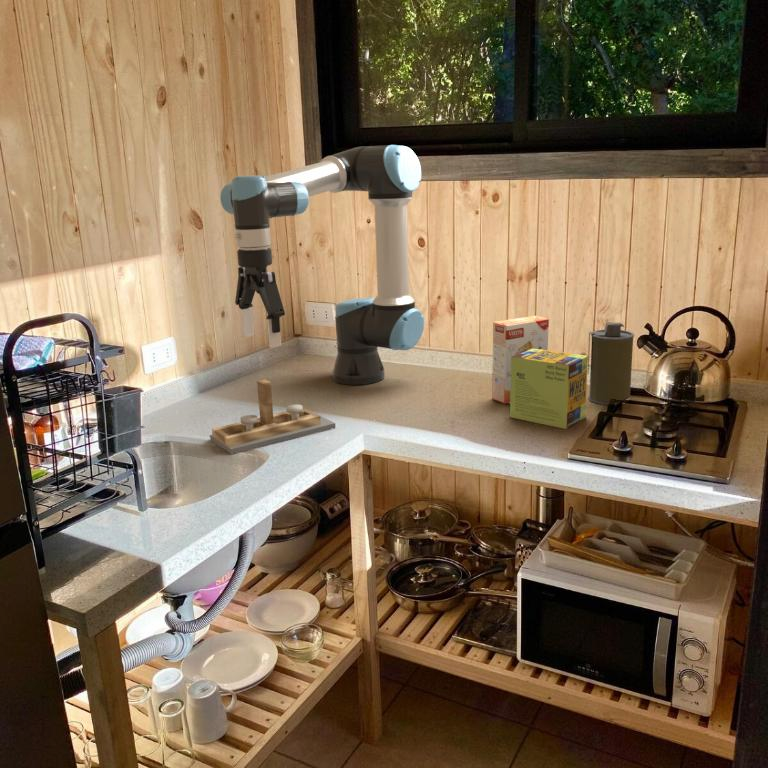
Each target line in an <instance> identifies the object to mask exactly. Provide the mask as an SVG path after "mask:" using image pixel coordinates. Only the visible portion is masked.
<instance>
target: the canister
mask: <svg viewBox="0 0 768 768" xmlns="http://www.w3.org/2000/svg"><path fill="white" fill-rule="evenodd" d="M622 327H623V328H624V327H625V325H624V323H623V322H611V321H610V322H606V323H605V327H604V329H597V330H595V331H589V333H588V335H589V336H588V350H587V351H588V355H587V356H588V363H587V375H589V373H590V376H589V377H590V378H589V396H588V400H589V401H590V402H592V403H593V404H597V405H602V406H609V405H608V403H609V401H610V400H611V399H616V400H624V399H628V398H629V397H630V398H631V383H632V366H633V365H632V364H633V352H634V351H633V347H634V337H635V334H634V333H633V332H631V331H630V330H625V329H624V330H623V329H621V328H622ZM590 341H591V342H590ZM590 348H591V351H590ZM590 352H591V353H590ZM589 367H590V368H589ZM589 370H590V371H589Z"/></svg>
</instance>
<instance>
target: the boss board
mask: <svg viewBox="0 0 768 768" xmlns="http://www.w3.org/2000/svg"><path fill="white" fill-rule="evenodd" d="M303 408H304V407H303V405H302V404H290V405H288V406H286V411H287V412H288V413H291V417H292V421H293V420H296V418H297V417H299V413H300V412H302V411H303ZM318 415H319V416H320V418H321V424H319V425H315V426H311V427H307V428H303V429H299V430H295V431H291V432H287V433H283V434H279V435H275V436H271V437H267V438H263V439H259V440H255V441H251V442H247V443H242V444H238V445H234V446H230V447H227V446H226V445H224V444H223V443H221V442H220V441H218V440H217V439H215V438H214V437H213V434H209V440H210V441H212V442H213V443H214V444H216V445H218V446H219V447H220V448H222V449H224V450H225V451H226V452H228V453H229V454H231V455H234V454H238V453H243V452H245V451H251V450H254V449H258V448H261V447H265V446H269V445H273V444H278V443H282V442H285V441H289V440H294V439H297V438H300V437H306V436H310V435H312V434H317V433H320V432H325V431H329V430H332V429H331V428H333V429H336V428H335V427H336V423H335V422H333V421H332V420H330V419H328V418H326V417H323V416H322V415H320V414H318ZM257 418H258V416H257V415H254V414H247V415H246V414H245V415H242V416H241V417H240V422H241V423H242V424H245V425H246V432H247V431H250V429H251V428H254V426H253V423H256V422H257ZM286 422H288V421H286ZM282 423H284V422H282ZM278 424H280V423H278ZM328 429H329V430H328ZM324 430H325V431H324ZM241 433H243V432H241ZM236 434H239V433H236ZM232 435H234V434H232ZM229 436H230V435H229Z"/></svg>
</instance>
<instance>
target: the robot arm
mask: <svg viewBox="0 0 768 768" xmlns="http://www.w3.org/2000/svg"><path fill="white" fill-rule="evenodd" d="M421 167H422V166H421V162H420V160H419V158H418V155H416V153H415V152H414V151H413V150H412V148H410V147H408V146H405V145H397V144H390V145H389V144H388V145H369V146H367V145H365V146H357V147H353V148H351V149H346V150H343V151H341V152H338V153H334V154H331V155H327V156H325V157H324V158H322V160H321V161H320V162H317V163H311V164H309V165H305V166H301V167H298V168H295V169H294V168H293V169H289V170H285V171H281V172H279V173H274V174H270V175H266V176H265V175H263V174H262V175H259V174H257V175H255V174H254V175H238V176H234V177H233V178H232V179H231V182H229V183H226V184H225V185H224V186H223V187H222V189H221V191H220V203H221V206H222V207H221V208H223V210H224V211H225V212H226V213H228V214H229V215H233V217H234V218H233V220H234V228H235V229H234V230H235V234H234V238H235V239H236V248H237V247H238V248H239V249H237V251H236V252H237V263H238V268H237V271H238V272H237V273H238V275H237V276H238V278H237V285H236V286H237V287H236V292H235V300H234V303H235V305H236V306H238V309H240V317H241V319H240V320H241V329H242V330H241V331H242V337H243V338H249V337H253V336H256V335H255V334H256V332H255V322H254V312H253V310H254V309H253V307H254V305H253V299H254V296H255V293H257V294H258V295H259V296H260V299H261V301H262V304H263V306H264V308H265V312H266V313H267V315H266V318H265V319H266V321H267V322H266V324H267V336H268V347H269V348H270V349H272V348H278V347H281V346H283V345H282V332H281V317H283V316H285V314H286V312H285V309H284V306H283V301H282V299H281V298H282V297H281V295H280V291H279V287H278V285H277V279H276V273H275V272H274V271H268V268H267V267H268V266H271V265H272V264H273V256H272V248H271V247H270V246H271V245H272V239H271V227H270V226H271V225H270V219H273V218H282V217H290V216H292V217H295V216H298V215H300V214H303V213H304V212H305V211H306V210H307V209H308V207H309V204H310V197H313V196H316V195H320V194H322V193H323V194H324V193H327V192H330V193H333V194H336V193H341V192H348V191H349V192H368V193H367V195H368V200H369V202H370V203H371V204H372V205H373V207H374V225H375V227H374V229H375V231H374V232H375V253H376V254H375V257H376V260H375V261H376V280H377V281H376V283H377V284H376V288H377V296H376V297H361V298H353V299H348V300H344V301H341V302H339V303H337V304H336V305H335V316H334V319H335V332H336V334H335V335H336V347H337V354H336V357H335V361H334V365H333V369H332V380H333V382H335V383H338V384H343V385H350V386H351V385H352V386H353V385H354V386H356V385H357V386H358V385H367V384H373V383H377V382H380V381H382V380H384V379H385V375H386V374H385V367H384V364H383V362H382V360H381V357H380V354H379V349H378V348H383V349H390V350H392V351H409V350H411V349H413V348H414V347H415V346H417V345H418V343H419V342H420V339H421V338H422V335H423V333H424V327H425V317H424V315H423V314H422V312H421V311H420V310H419V309H417V308H416V301H415V298H414V297H412V295H410V277H409V275H410V274H409V272H410V271H409V243H408V242H409V239H408V204H409V203H410V201H411V200H412V199H413V192H414V191H416V190H417V189H418V188H419V186H420V182H421V180H422V168H421Z"/></svg>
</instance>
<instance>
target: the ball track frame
mask: <svg viewBox="0 0 768 768" xmlns="http://www.w3.org/2000/svg"><path fill="white" fill-rule="evenodd" d="M256 384H257V385H256V386H257V396H258V398H257V399H258V407H259V417H257V422H256V423H253V426H254V428H251V429H250V431H247V432H246V425H245V424H242V423H241V421H239V422H235V423H231V424H227V425H222V426H221V425H220V426H218V427H213V428H212V429H211V431H212V434H213V437H214V438H215V439H217V440H218V441H220V442H221V443H223V444H224V445H226V446H227V447H230V446H234V445H238V444H242V443H247V442H251V441H255V440H259V439H263V438H267V437H271V436H275V435H279V434H283V433H287V432H291V431H295V430H299V429H303V428H307V427H311V426H315V425H319V424H321V418H320V416H321V415H320V414H317V413H316V412H314V411H311V410H309V409H308V408H304V407H303V411H302V412H300V413H299V417H297V418H296V420H293V421H292V417H291V413H288V412H287V410H286V411H282V412H277V413H274V412H273V411H274V408H273V397H272V395H273V394H272V382H271V381H269V380H267V379H261V380H257V381H256ZM319 415H320V416H319ZM286 421H288V422H286ZM282 422H284V423H282ZM278 423H280V424H278ZM241 432H243V433H241ZM236 433H239V434H236ZM212 434H211V435H212ZM232 434H234V435H232ZM229 435H230V436H229Z"/></svg>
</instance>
